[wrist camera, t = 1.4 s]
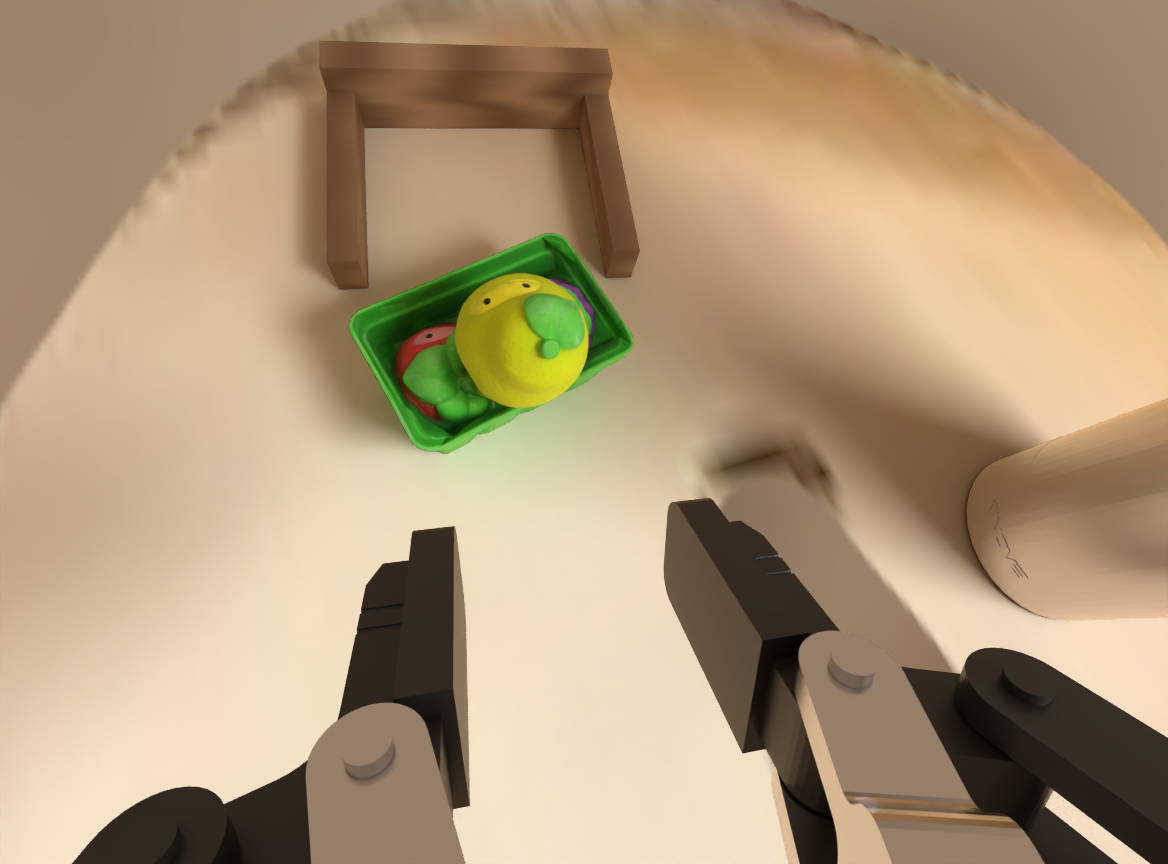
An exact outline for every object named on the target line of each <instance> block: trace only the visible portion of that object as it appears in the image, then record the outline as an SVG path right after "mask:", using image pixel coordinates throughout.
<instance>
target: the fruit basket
mask: <svg viewBox="0 0 1168 864" xmlns="http://www.w3.org/2000/svg"><path fill="white" fill-rule="evenodd" d="M349 330H350V334H351V335H352V337H353V339H354V340H355V342H356V344H357V345H358V347H359V349H360V350H361V352H362V354H363V356H364V357H365V359H366V361H367V362H368V364H369V366H370V368H371V369H372V371H373V373H374V375H375V376H376V378H377V380H378V381H379V383H380V385H381V387H382V389H383V391H384V392H385V394H386V396H387V398H388V400H389V402H390V403H391V405H392V407H393V409H394V411H395V413H396V414H397V416H398V418H399V420H400V422H401V424H402V426H403V428H404V429H405V431H406V433H407V435H408V437H409V439H410V440H411V442H412V443H413V444H414V445H415V446H416V447H417V448H419V449H421V450H425V451H438V452H441V453H443V454H447V453H450V452H452V451H454V450H456V449H458V448H460V447H462V446H464V445H466V444H467V443H469V442H470V441H471V440H472V439H473V438H474V437H475V436H476V435H477V434H479V435H480V434H483V433H488V432H490V431H492V430H494V429H496V428H498V427H500V426H502V425H504V424H506V423H508V422H510V421H511V420H512V419H513V418H514V417H515V416H517V415H518V413H523V412H529V411H531V410H533V409H535V408H537V407H539V406H541V405H543V404H545V403H547V402H549V401H551V400H553V399H554V398H556V397H558V396H559V395H561V394H562V393H563V392H567V391H570V390H572V389H574V388H576V387H578V386H579V385H581V384H583V383H585V382H587V381H588V380H589V379H591V378H592V377H593V376H595V375H596V374H597V373H599V372H600V371H601V370H602V369H603V368H605V367H606V366H608V365H610V364H612V363H614V362H616V361H618V360H619V359H621V358H622V357H623V356H625V355H626V354H628V353H629V352H630V351H631V349H632V348H633V337H632V334H631V332H630V331H629V329H628V328H627V326H626V325H625V324H624V322H623V321H622V320H621V319H620V317H619V315H618V313H617V312H616V310H615V309H614V307H613V306H612V304H611V302H610V301H609V300H608V298H607V297H606V295H605V294H604V292H603V291H602V289H601V288H600V287H599V285H598V284H597V282H596V281H595V279H594V278H593V276H592V275H591V273H590V272H589V271H588V269H587V268H586V266H585V265H584V263H583V262H582V261H581V259H580V257H579V256H578V254H577V252H576V251H575V250H574V249H573V248H572V246H571V245H570V243H569V242H568V241H567V240H566V239H565V238H564V237H563V236H561V235H558V234H555V233H546V234H542V235H540V236H537V237H535V238H533V239H531V240H528V241H526V242H524V243H521V244H519V245H517V246H514V247H511V248H509V249H506V250H504V251H502V252H500V253H498V254H496V255H493V256H490V257H487V258H485V259H483V260H481V261H478V262H476V263H473V264H471V265H468V266H466V267H463V268H461V269H459V270H456V271H453V272H451V273H448V274H446V275H443V276H441V277H439V278H437V279H435V280H432V281H430V282H427V283H425V284H422V285H420V286H418V287H415V288H413V289H411V290H407V291H405V292H403V293H400V294H398V295H396V296H393V297H391V298H388V299H386V300H383V301H381V302H377V303H375V304H373V305H370V306H368V307H366V308H363V309H361V310H359V311H358V312H356V313H355V314H354V315H353V316H352V318H351V320H350V323H349Z"/></svg>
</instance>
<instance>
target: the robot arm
mask: <svg viewBox="0 0 1168 864" xmlns="http://www.w3.org/2000/svg"><path fill="white" fill-rule="evenodd" d="M967 524H968V530H969V534H970V538H971V542H972V545H973V547H974V549H975V552H976V554H977V556H978V558H979V561H980V562H981V564H982V565H983V567H984V569H985V570H986V572H987V573H988V575H989V576H990V578H991V579H992V580H993V581H994V582H995V583H996V584H997V585H998V587H999V588H1000V589H1001V590H1002V591H1003V592H1004V593H1005V594H1006V595H1007V596H1009V597H1010V598H1011V599H1013V600H1014V601H1015V602H1016V603H1018V604H1019V605H1020V606H1022V607H1024V608H1026V609H1028V610H1030V611H1031V612H1033V613H1035V614H1037V615H1041V616H1044V617H1047V618H1050V619H1054V620H1067V621H1076V620H1103V619H1131V618H1168V398H1167V399H1164V400H1161V401H1159V402H1156V403H1153V404H1150V405H1148V406H1145V407H1142V408H1139V409H1137V410H1134V411H1131V412H1128V413H1126V414H1123V415H1120V416H1117V417H1115V418H1112V419H1109V420H1106V421H1104V422H1101V423H1098V424H1095V425H1093V426H1090V427H1087V428H1084V429H1082V430H1079V431H1076V432H1073V433H1071V434H1068V435H1065V436H1062V437H1059V438H1056V439H1054V440H1051V441H1048V442H1045V443H1043V444H1040V445H1037V446H1035V447H1032V448H1029V449H1027V450H1024V451H1021V452H1019V453H1016V454H1013V455H1011V456H1008V457H1005V458H1002V459H1000V460H997V461H994V462H993V463H991V464H990V465H989V466H987V467H986V468H984V469H983V470H982V471H981V473H980V474H979V475H978V477H977V478H976V479H975V480H974V483H973V485H972V488H971V490H970V493H969V497H968V503H967ZM664 580H665V586H666V590H667V594H668V597H669V600H670V602H671V604H672V606H673V608H674V611H675V613H676V615H677V617H678V619H679V621H680V623H681V625H682V627H683V629H684V632H685V634H686V636H687V638H688V640H689V642H690V644H691V646H692V648H693V650H694V653H695V655H696V657H697V659H698V661H699V663H700V665H701V667H702V669H703V671H704V674H705V676H706V678H707V680H708V682H709V684H710V686H711V688H712V690H713V692H714V694H715V697H716V699H717V701H718V703H719V705H720V707H721V709H722V711H723V713H724V715H725V718H726V720H727V722H728V724H729V726H730V728H731V730H732V732H733V734H734V736H735V739H736V741H737V743H738V745H739V747H740V749H741V751H742V753H747V752H752V751H757V750H763V749H766V750H767V752H768V754H769V755H770V757H771V759H772V761H773V763H774V769H773V774H772V783H771V785H772V792H773V796H774V801H775V805H776V809H777V814H778V818H779V823H780V827H781V832H782V836H783V840H784V845H785V849H786V854H787V858H788V863H789V864H1118V863H1116V862H1115V861H1114V860H1112V859H1111V858H1110V857H1109V856H1107V855H1106V854H1105V853H1104V852H1102V851H1101V850H1100V849H1098V848H1097V847H1096V846H1095V845H1093V844H1092V843H1091V842H1090V841H1088V840H1087V839H1086V838H1084V837H1083V836H1082V835H1081V834H1079V833H1078V832H1077V831H1076V830H1074V829H1073V828H1072V827H1070V826H1069V825H1068V824H1067V823H1065V822H1064V821H1063V820H1062V819H1060V818H1059V817H1058V816H1056V815H1055V814H1054V813H1053V812H1051V811H1050V810H1049V809H1048V808H1046V807H1045V805H1046V803H1047V801H1048V799H1049V798H1050V796H1051V794H1052V792H1053V790H1054V791H1056V792H1057V793H1058V794H1059V795H1061V796H1062V797H1063V798H1065V799H1066V800H1067V801H1069V802H1070V803H1071V804H1073V805H1074V806H1075V807H1077V808H1078V809H1079V810H1081V811H1082V812H1083V813H1085V814H1086V815H1087V816H1088V817H1090V818H1091V819H1092V820H1094V821H1095V822H1096V823H1098V824H1099V825H1100V826H1102V827H1103V828H1104V829H1106V830H1107V831H1108V832H1110V833H1111V834H1112V835H1114V836H1115V837H1116V838H1117V839H1119V840H1120V841H1121V842H1123V843H1124V844H1125V845H1127V846H1128V847H1129V848H1131V849H1132V850H1133V851H1135V852H1136V853H1137V854H1139V855H1140V856H1141V857H1143V858H1144V859H1145V860H1146V861H1148V862H1149V863H1150V864H1168V738H1167V737H1165V736H1164V735H1162V734H1160V733H1159V732H1157V731H1156V730H1154V729H1152V728H1151V727H1149V726H1147V725H1146V724H1144V723H1143V722H1141V721H1139V720H1138V719H1136V718H1134V717H1133V716H1131V715H1129V714H1128V713H1126V712H1125V711H1123V710H1121V709H1120V708H1118V707H1116V706H1115V705H1113V704H1112V703H1110V702H1108V701H1107V700H1105V699H1103V698H1102V697H1100V696H1099V695H1097V694H1095V693H1094V692H1092V691H1090V690H1089V689H1087V688H1085V687H1084V686H1082V685H1081V684H1079V683H1077V682H1076V681H1074V680H1072V679H1071V678H1069V677H1068V676H1066V675H1064V674H1063V673H1061V672H1059V671H1058V670H1056V669H1054V668H1053V667H1051V666H1049V665H1048V664H1046V663H1044V662H1042V661H1040V660H1038V659H1036V658H1034V657H1031V656H1029V655H1026V654H1023V653H1020V652H1017V651H1013V650H1009V649H1003V648H984V649H980V650H977V651H975V652H973V653H972V654H970V655H969V656H968V658H967V660H966V662H965V665H964V667H963V670H962V672H961V674H957V673H948V672H939V671H930V670H922V669H912V668H906V667H900V665H899V663H898V662H897V661H896V660H895V659H894V658H893V657H892V656H891V655H890V654H889V653H888V652H887V651H886V650H884V649H883V648H882V647H880V646H879V645H877V644H875V643H874V642H872V641H870V640H868V639H866V638H863V637H861V636H858V635H855V634H852V633H848V632H842V631H839V629H838V628H837V627H836V626H835V624H834V623H833V622H832V621H831V619H830V618H829V617H828V616H827V614H826V613H825V612H824V611H823V609H822V608H821V607H820V606H819V604H818V603H817V602H816V601H815V599H814V598H813V597H812V596H811V594H810V593H809V592H808V591H807V589H806V588H805V587H804V586H803V584H802V583H801V582H800V581H799V579H798V578H797V577H796V576H795V574H794V573H793V574H791V571H790V568H789V567H788V566H787V564H786V563H785V562H784V561H783V559H782V558H779V557H778V553H777V552H776V551H775V549H774V548H773V547H772V546H771V545H770V543H769V542H768V541H767V539H766V538H765V537H764V536H763V535H762V534H760V533H759V532H757V531H756V530H754V529H752V528H751V527H749V526H748V525H746V524H745V523H743V522H742V521H734V522H729V521H728V520H727V519H726V517H725V516H724V515H723V513H722V512H721V510H720V509H719V508H718V506H717V505H716V504H715V502H714V501H713V500H712V499H710V498H704V499H696V500H687V501H678V502H672V503H670V505H669V508H668V515H667V529H666V543H665V557H664ZM466 806H470V791H469V744H468V696H467V649H466V617H465V604H464V594H463V585H462V577H461V568H460V560H459V552H458V543H457V535H456V529H455V526H453V527H444V528H435V529H426V530H417V531H413V532H412V538H411V547H410V555H409V561H401V562H392V563H384V564H382V566H381V567H380V568H379V569H378V571H377V572H376V573H375V575H374V576H373V577H372V578H371V580H370V581H369V582H368V583H367V585H366V588H365V593H364V597H363V602H362V607H361V614H360V617H359V622H358V626H357V634H356V636H355V641H354V646H353V651H352V655H351V660H350V665H349V670H348V675H347V679H346V684H345V689H344V694H343V699H342V704H341V708H340V713H339V716H338V720H337V721H336V722H335V723H334V724H332V725H331V726H330V727H329V728H328V729H327V730H326V731H325V732H324V733H323V735H322V736H321V737H320V738H319V739H318V741H317V743H316V744H315V746H314V747H313V749H312V751H311V754H310V756H309V758H308V760H307V761H306V762H305V763H303V764H302V765H301V766H300V767H298V768H297V769H295V770H294V771H292V772H290V773H289V774H287V775H285V776H283V777H282V778H280V779H278V780H276V781H274V782H271V783H269V784H267V785H265V786H263V787H261V788H258V789H256V790H254V791H252V792H250V793H248V794H245V795H243V796H241V797H239V798H237V799H234V800H232V801H230V802H228V803H226V804H223V802H222V801H221V799H220V798H219V797H218V796H217V795H216V794H215V793H213V792H212V791H210V790H208V789H204V788H200V787H180V788H174V789H170V790H166V791H163V792H160V793H158V794H155V795H153V796H150V797H148V798H146V799H144V800H142V801H140V802H138V803H137V804H135V805H134V806H132V807H130V808H129V809H127V810H126V811H124V812H123V813H121V814H120V815H119V816H118V817H116V818H115V819H114V820H112V821H111V822H110V823H109V824H108V825H107V826H106V827H104V828H103V829H102V830H101V831H100V832H99V833H98V834H97V835H96V836H95V837H94V839H93V840H92V841H91V842H90V843H89V844H88V845H87V846H86V848H85V849H84V850H83V851H82V852H81V854H80V855H79V856H78V857H77V858H76V860H75V861H74V862H73V863H72V864H465V861H464V857H463V854H462V850H461V846H460V843H459V839H458V836H457V832H456V829H455V825H454V822H453V809H456V808H461V807H466Z"/></svg>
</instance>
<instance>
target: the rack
mask: <svg viewBox="0 0 1168 864" xmlns="http://www.w3.org/2000/svg"><path fill="white" fill-rule="evenodd" d="M319 67H320V71H321V74H322V77H323V80H324V83H325V87H326V90H327V263H328V265H329V267H330V269H331V271H332V274H333V276H334V278H335V280H336V282H337V285H338V287H339V289H359V288H368V261H367V222H366V184H365V146H364V128H579V130H580V135H581V141H582V146H583V152H584V158H585V163H586V169H587V174H588V180H589V186H590V191H591V197H592V203H593V208H594V214H595V219H596V225H597V231H598V236H599V242H600V247H601V253H602V259H603V264H604V270H605V275H606V278H616V277H631V274H632V271H633V268H634V265H635V263H636V260H637V257H638V254H639V251H640V249H639V245H638V240H637V235H636V230H635V225H634V220H633V215H632V210H631V205H630V200H629V195H628V190H627V185H626V181H625V176H624V171H623V166H622V161H621V156H620V151H619V146H618V141H617V136H616V131H615V126H614V122H613V117H612V112H611V107H610V102H609V97H608V94H609V89H610V84H611V79H612V74H613V73H612V68H611V64H610V59H609V54H608V49H594V48H558V47H522V46H486V45H450V44H413V43H377V42H341V41H320V63H319Z"/></svg>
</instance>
